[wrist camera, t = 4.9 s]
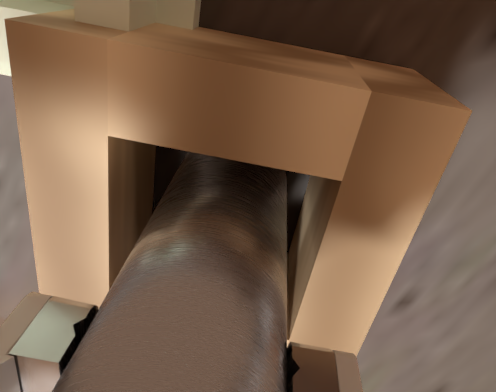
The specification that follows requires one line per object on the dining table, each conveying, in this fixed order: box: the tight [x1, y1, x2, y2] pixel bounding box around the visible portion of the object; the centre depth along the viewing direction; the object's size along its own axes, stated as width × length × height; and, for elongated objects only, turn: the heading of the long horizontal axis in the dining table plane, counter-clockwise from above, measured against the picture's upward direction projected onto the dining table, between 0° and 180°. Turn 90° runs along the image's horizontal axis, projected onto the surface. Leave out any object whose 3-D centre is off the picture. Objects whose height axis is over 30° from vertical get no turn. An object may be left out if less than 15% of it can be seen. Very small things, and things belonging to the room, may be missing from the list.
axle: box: [52, 151, 287, 392], centre depth 11 cm, size 4×4×12 cm
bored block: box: [4, 9, 472, 356], centre depth 14 cm, size 12×12×5 cm
